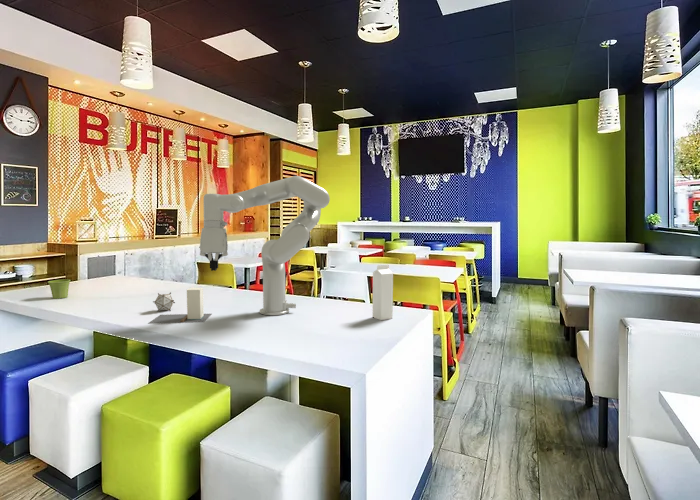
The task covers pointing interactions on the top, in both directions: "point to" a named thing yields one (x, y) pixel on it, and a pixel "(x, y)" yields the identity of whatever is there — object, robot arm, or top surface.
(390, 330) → the top surface
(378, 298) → the milk
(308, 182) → the robot arm
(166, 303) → the game die
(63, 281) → the plant pot
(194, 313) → the cream block
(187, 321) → the mat
